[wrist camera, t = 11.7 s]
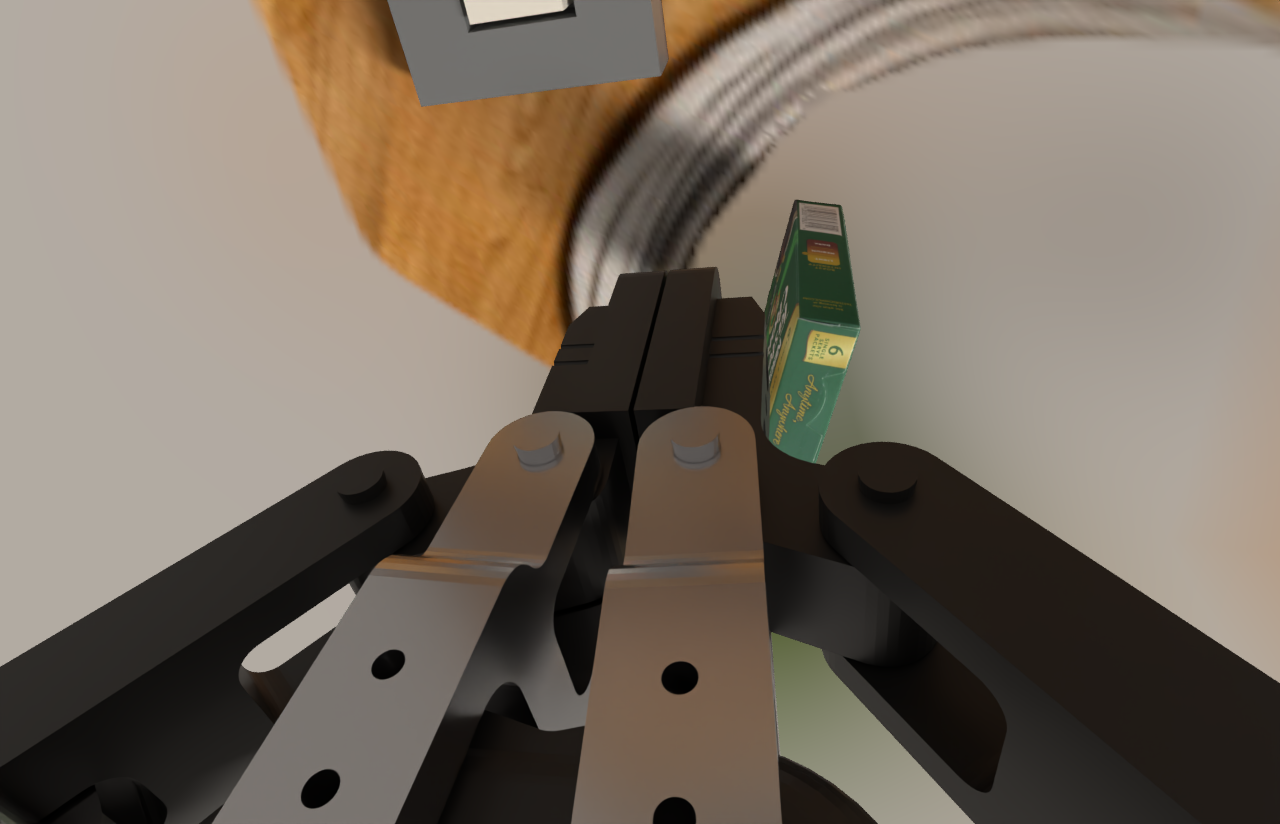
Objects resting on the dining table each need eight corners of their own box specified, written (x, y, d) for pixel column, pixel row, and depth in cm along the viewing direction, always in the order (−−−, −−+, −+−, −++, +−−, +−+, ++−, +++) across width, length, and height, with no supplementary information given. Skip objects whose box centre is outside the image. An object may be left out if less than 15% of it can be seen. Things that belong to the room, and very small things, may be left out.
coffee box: (792, 189, 40) (795, 318, 30) (846, 199, 40) (867, 331, 29) (759, 317, 45) (751, 465, 35) (806, 326, 45) (813, 476, 35)
